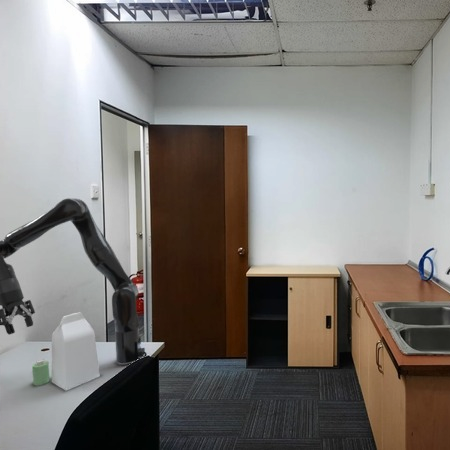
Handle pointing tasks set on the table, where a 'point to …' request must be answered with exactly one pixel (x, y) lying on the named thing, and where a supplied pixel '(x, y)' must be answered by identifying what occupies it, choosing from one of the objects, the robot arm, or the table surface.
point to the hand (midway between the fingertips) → (21, 329)
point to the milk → (74, 352)
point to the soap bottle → (41, 372)
